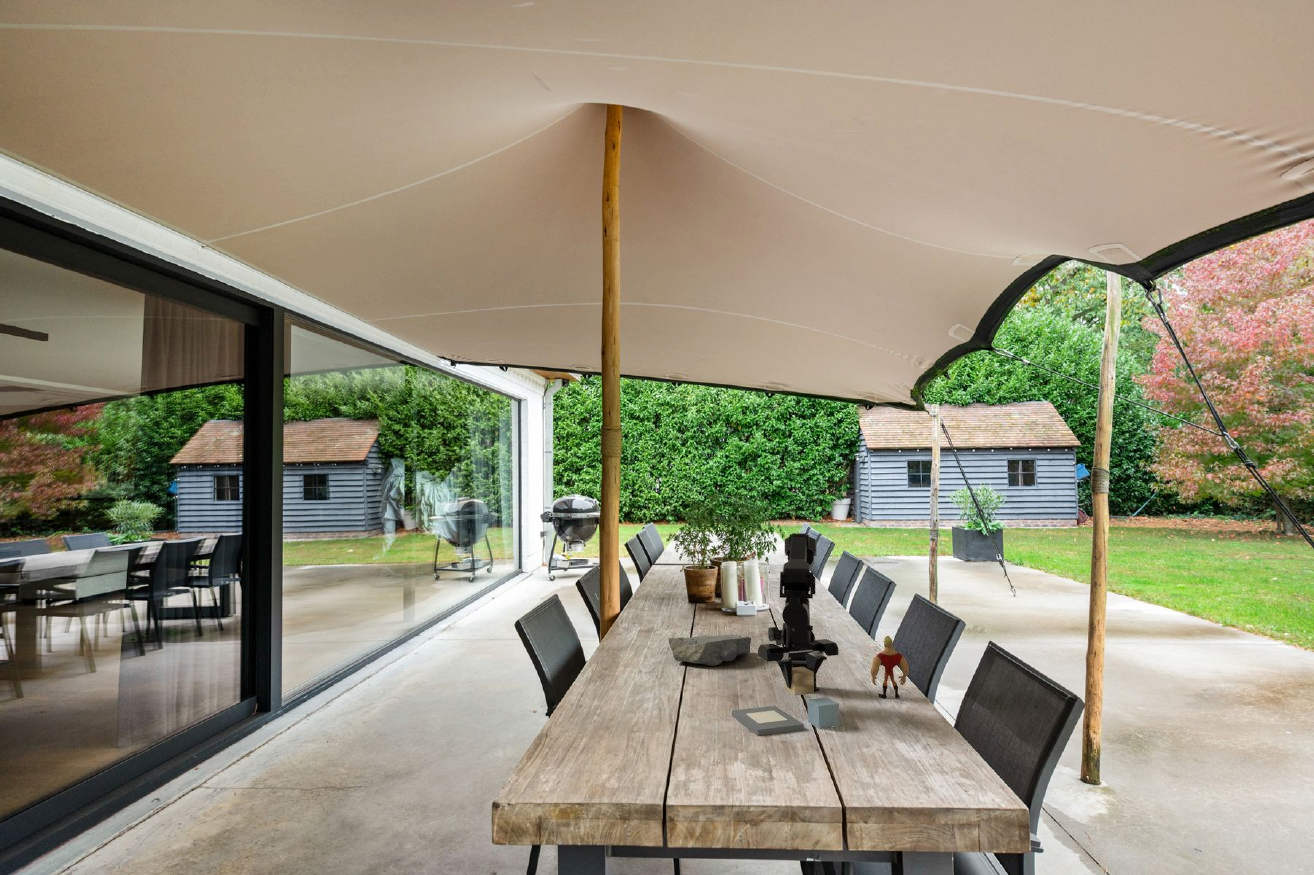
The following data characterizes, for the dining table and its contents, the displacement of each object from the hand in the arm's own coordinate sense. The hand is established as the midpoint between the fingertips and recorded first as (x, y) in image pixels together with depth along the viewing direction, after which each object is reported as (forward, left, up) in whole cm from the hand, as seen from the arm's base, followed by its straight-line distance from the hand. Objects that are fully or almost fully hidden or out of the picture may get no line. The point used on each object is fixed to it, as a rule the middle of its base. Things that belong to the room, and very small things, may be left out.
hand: (799, 686), depth 174 cm
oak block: (0, 0, -1) cm, 1 cm away
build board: (+11, +6, -5) cm, 14 cm away
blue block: (0, +11, -5) cm, 12 cm away
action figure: (-26, -2, -6) cm, 26 cm away
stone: (+2, -54, -6) cm, 54 cm away
